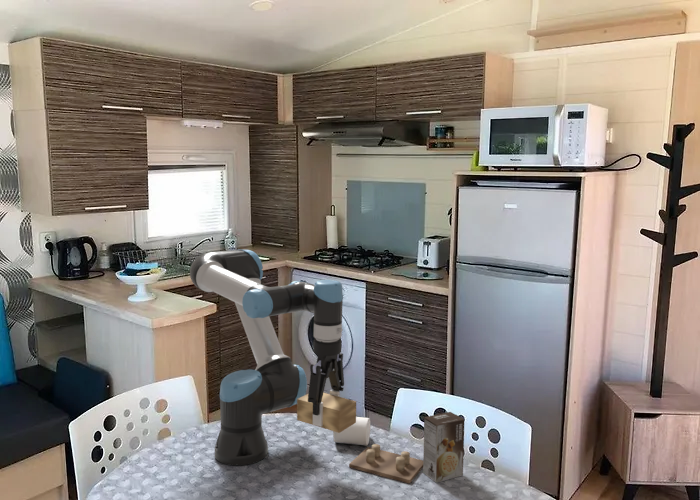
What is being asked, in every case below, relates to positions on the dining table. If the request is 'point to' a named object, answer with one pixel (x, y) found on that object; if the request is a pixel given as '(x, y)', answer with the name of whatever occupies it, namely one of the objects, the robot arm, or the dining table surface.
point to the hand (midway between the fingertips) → (326, 419)
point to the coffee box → (443, 446)
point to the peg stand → (388, 464)
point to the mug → (355, 433)
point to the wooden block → (329, 412)
